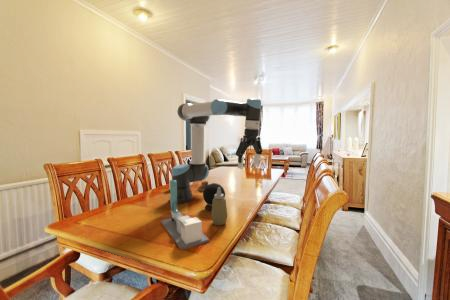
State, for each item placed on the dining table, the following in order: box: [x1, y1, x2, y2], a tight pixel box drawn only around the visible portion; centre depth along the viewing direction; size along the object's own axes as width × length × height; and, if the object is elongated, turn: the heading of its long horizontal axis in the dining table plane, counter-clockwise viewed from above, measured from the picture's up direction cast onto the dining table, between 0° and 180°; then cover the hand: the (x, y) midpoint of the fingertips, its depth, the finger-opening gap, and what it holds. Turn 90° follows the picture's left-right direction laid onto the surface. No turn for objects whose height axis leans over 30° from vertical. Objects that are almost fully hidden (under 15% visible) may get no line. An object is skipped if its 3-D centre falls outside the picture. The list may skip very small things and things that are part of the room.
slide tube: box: [169, 179, 183, 222], centre depth 99 cm, size 16×3×20 cm, turn 31°
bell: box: [197, 180, 210, 192], centre depth 166 cm, size 12×12×7 cm
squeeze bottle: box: [211, 187, 228, 226], centre depth 102 cm, size 8×8×18 cm
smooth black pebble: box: [202, 182, 226, 213], centre depth 123 cm, size 13×13×15 cm
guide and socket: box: [160, 214, 210, 251], centre depth 95 cm, size 30×12×8 cm, turn 31°
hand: (248, 166), depth 115 cm, fingers open, 13 cm apart
